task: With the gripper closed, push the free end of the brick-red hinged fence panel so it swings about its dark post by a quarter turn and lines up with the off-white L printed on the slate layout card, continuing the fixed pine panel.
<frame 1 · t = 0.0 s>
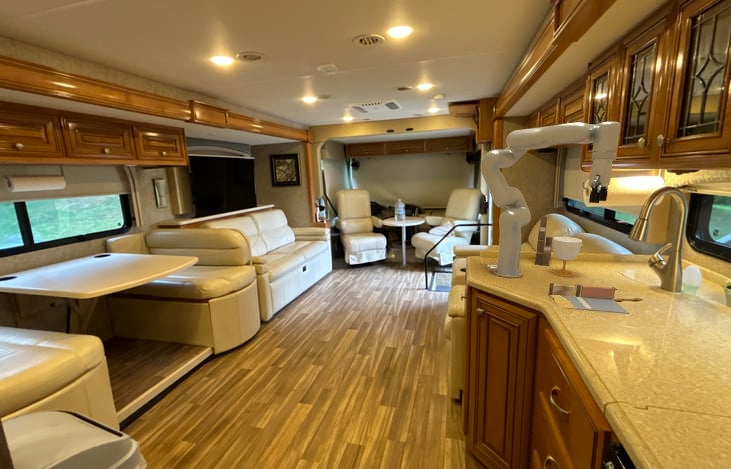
hand: (597, 201, 128), 37 cm above the worktop, tool pointing down, fingers open, 9 cm apart
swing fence: (597, 291, 128), point 3 cm above the worktop, hinge at 0.0°
wooden toy: (542, 262, 179), on the worktop
cup: (563, 274, 159), on the worktop
layout card: (585, 302, 125), on the worktop
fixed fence: (577, 297, 131), resting on layout card
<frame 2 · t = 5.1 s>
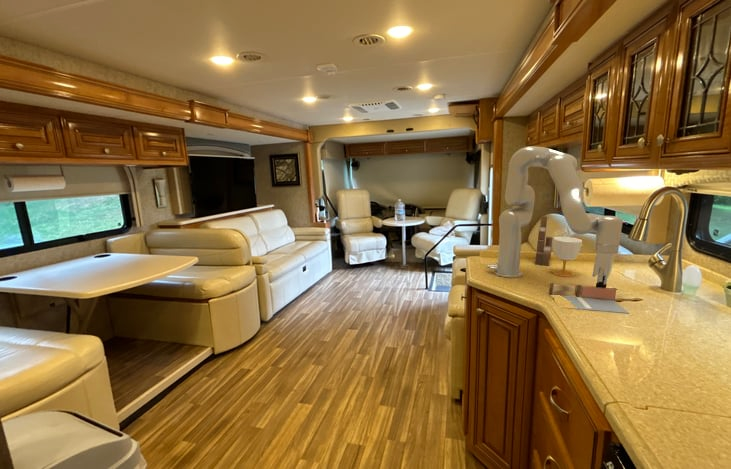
hand: (600, 293, 130), 2 cm above the worktop, tool pointing down, fingers closed
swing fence: (598, 292, 128), point 3 cm above the worktop, hinge at -4.4°, touching gripper
everything else where it was.
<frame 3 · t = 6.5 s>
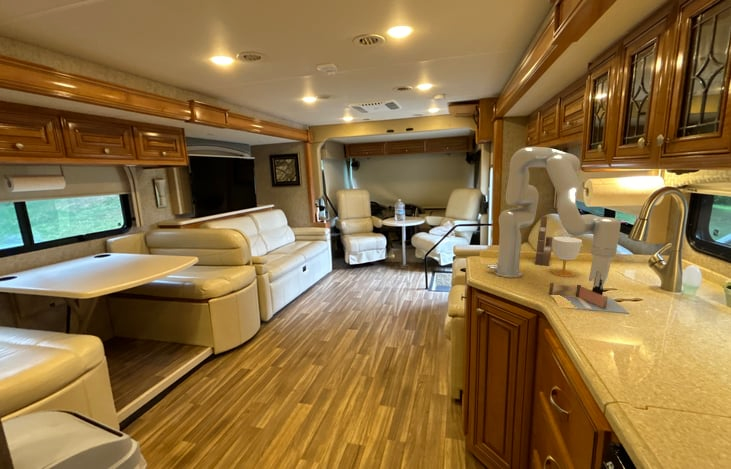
hand: (596, 297, 125), 2 cm above the worktop, tool pointing down, fingers closed
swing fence: (593, 296, 123), point 3 cm above the worktop, hinge at -65.4°, touching gripper
everything else where it was.
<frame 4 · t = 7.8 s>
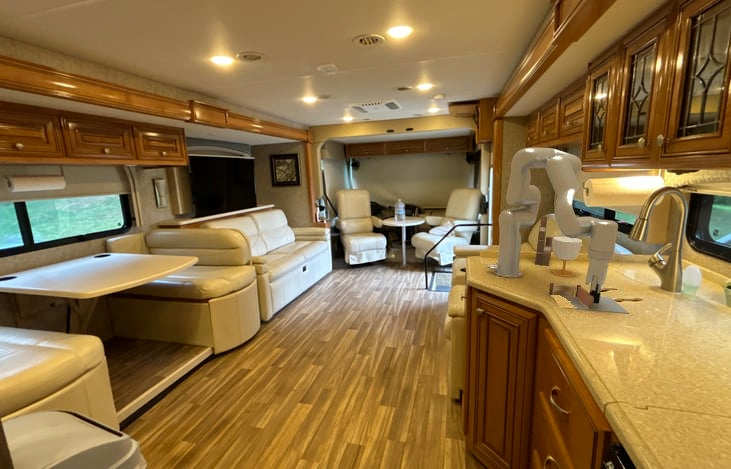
hand: (593, 302, 122), 1 cm above the worktop, tool pointing down, fingers closed
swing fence: (585, 296, 123), point 3 cm above the worktop, hinge at -89.2°, touching gripper
everything else where it was.
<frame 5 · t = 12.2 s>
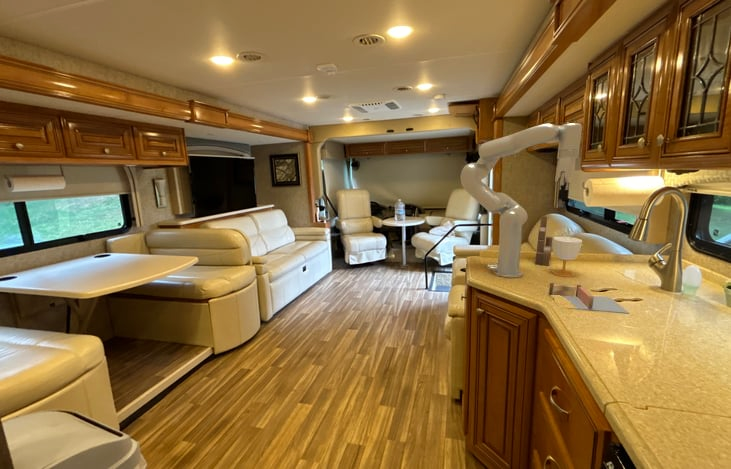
hand: (563, 199, 140), 37 cm above the worktop, tool pointing down, fingers closed
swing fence: (585, 296, 123), point 3 cm above the worktop, hinge at -89.3°
everything else where it was.
at the end: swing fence at -89° (first picture: +0°) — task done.
